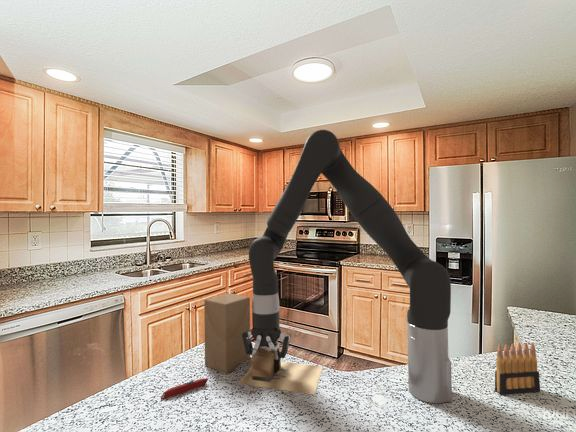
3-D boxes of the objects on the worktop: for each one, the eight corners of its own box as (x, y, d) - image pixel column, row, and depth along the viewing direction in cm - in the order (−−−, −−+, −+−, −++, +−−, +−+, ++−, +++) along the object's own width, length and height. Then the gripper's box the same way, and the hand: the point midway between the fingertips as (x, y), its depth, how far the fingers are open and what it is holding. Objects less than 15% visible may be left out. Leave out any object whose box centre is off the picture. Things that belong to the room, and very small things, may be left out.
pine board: (323, 371, 85) (323, 366, 85) (314, 400, 72) (314, 394, 72) (257, 363, 90) (257, 358, 90) (238, 389, 77) (238, 383, 77)
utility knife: (207, 383, 80) (207, 376, 80) (208, 385, 79) (208, 377, 79) (160, 398, 74) (160, 390, 74) (161, 400, 73) (161, 392, 73)
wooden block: (226, 375, 84) (225, 304, 84) (204, 365, 90) (203, 299, 90) (251, 361, 92) (250, 296, 92) (229, 353, 98) (228, 292, 98)
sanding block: (280, 365, 86) (279, 344, 86) (270, 382, 77) (269, 358, 77) (263, 363, 87) (263, 343, 87) (252, 379, 78) (251, 356, 79)
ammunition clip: (500, 395, 73) (499, 345, 73) (494, 390, 75) (493, 342, 75) (540, 392, 74) (539, 343, 74) (533, 388, 76) (532, 340, 76)
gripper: (294, 306, 84) (295, 367, 84) (247, 303, 88) (247, 361, 88) (287, 314, 77) (288, 380, 77) (236, 311, 81) (237, 374, 80)
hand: (266, 370), depth 82 cm, fingers closed on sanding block, 5 cm apart
